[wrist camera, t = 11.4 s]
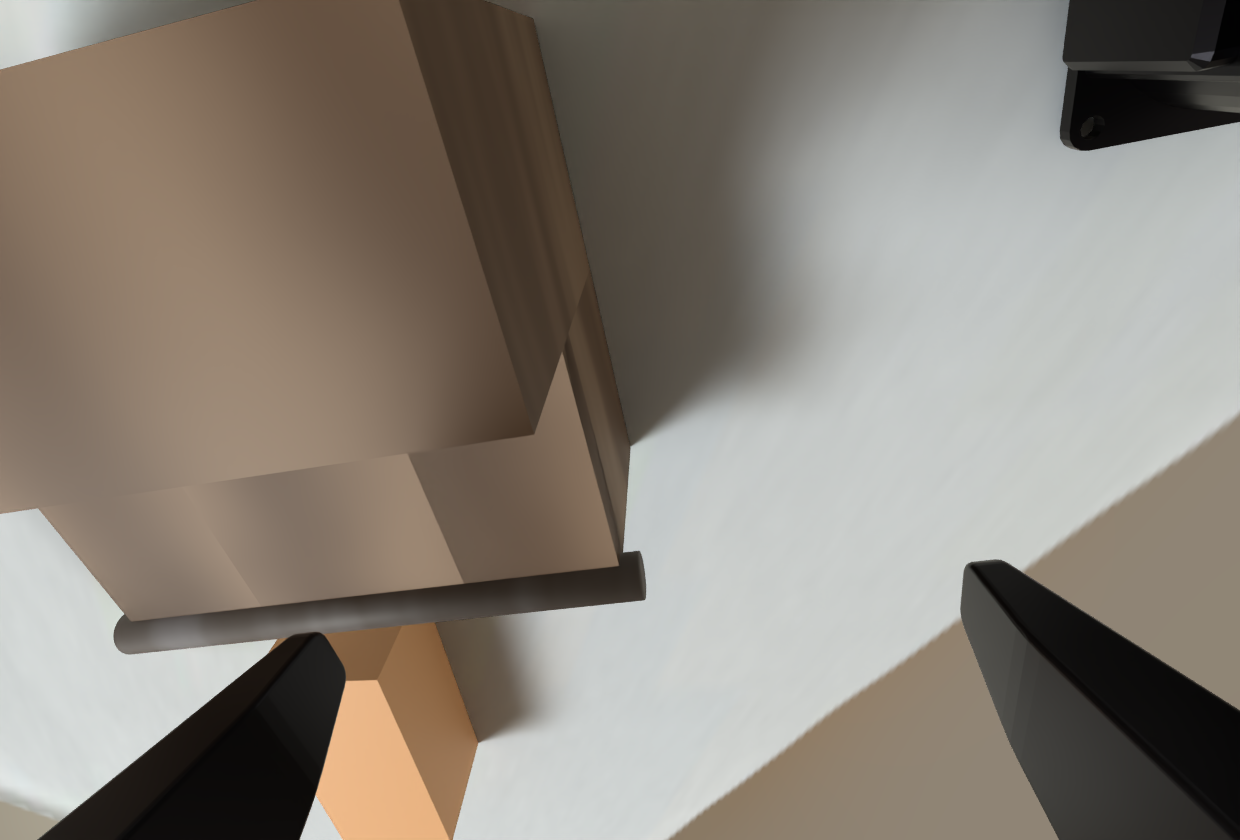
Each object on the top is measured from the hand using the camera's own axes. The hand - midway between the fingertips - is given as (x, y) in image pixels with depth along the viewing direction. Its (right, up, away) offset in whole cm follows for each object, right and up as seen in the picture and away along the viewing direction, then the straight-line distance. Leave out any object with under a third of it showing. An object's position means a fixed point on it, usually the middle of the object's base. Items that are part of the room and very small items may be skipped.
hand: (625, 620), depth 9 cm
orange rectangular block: (-9, -8, +18) cm, 22 cm away
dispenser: (-8, +6, +10) cm, 14 cm away
